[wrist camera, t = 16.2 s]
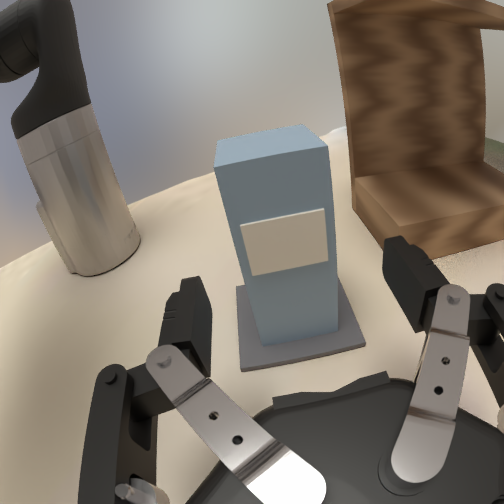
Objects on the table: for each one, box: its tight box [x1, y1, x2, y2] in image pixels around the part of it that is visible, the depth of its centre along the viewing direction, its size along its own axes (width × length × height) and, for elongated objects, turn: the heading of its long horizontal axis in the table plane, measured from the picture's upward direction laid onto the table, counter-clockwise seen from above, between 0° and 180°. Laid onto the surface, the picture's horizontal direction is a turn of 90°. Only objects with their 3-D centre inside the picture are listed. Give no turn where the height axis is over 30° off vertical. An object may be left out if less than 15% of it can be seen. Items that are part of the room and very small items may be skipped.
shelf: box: [327, 0, 504, 260], centre depth 21 cm, size 18×11×22 cm, turn 94°
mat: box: [236, 276, 366, 372], centre depth 22 cm, size 8×8×1 cm
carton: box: [214, 124, 338, 346], centre depth 18 cm, size 5×5×12 cm
